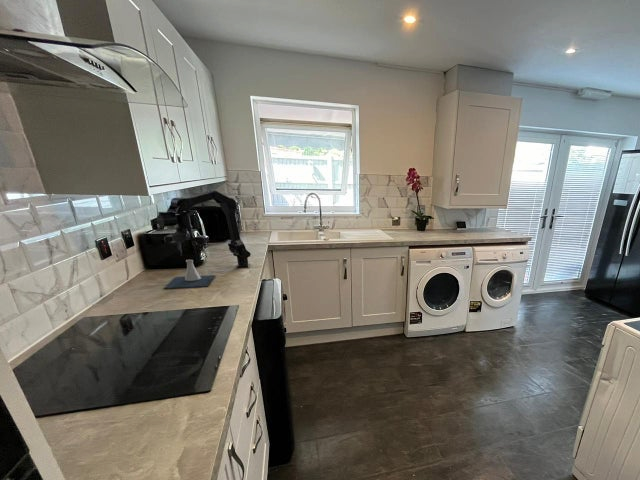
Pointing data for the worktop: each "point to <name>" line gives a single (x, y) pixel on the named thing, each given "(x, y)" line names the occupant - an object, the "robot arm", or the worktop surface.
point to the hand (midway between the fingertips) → (190, 255)
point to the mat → (190, 282)
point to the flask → (191, 272)
